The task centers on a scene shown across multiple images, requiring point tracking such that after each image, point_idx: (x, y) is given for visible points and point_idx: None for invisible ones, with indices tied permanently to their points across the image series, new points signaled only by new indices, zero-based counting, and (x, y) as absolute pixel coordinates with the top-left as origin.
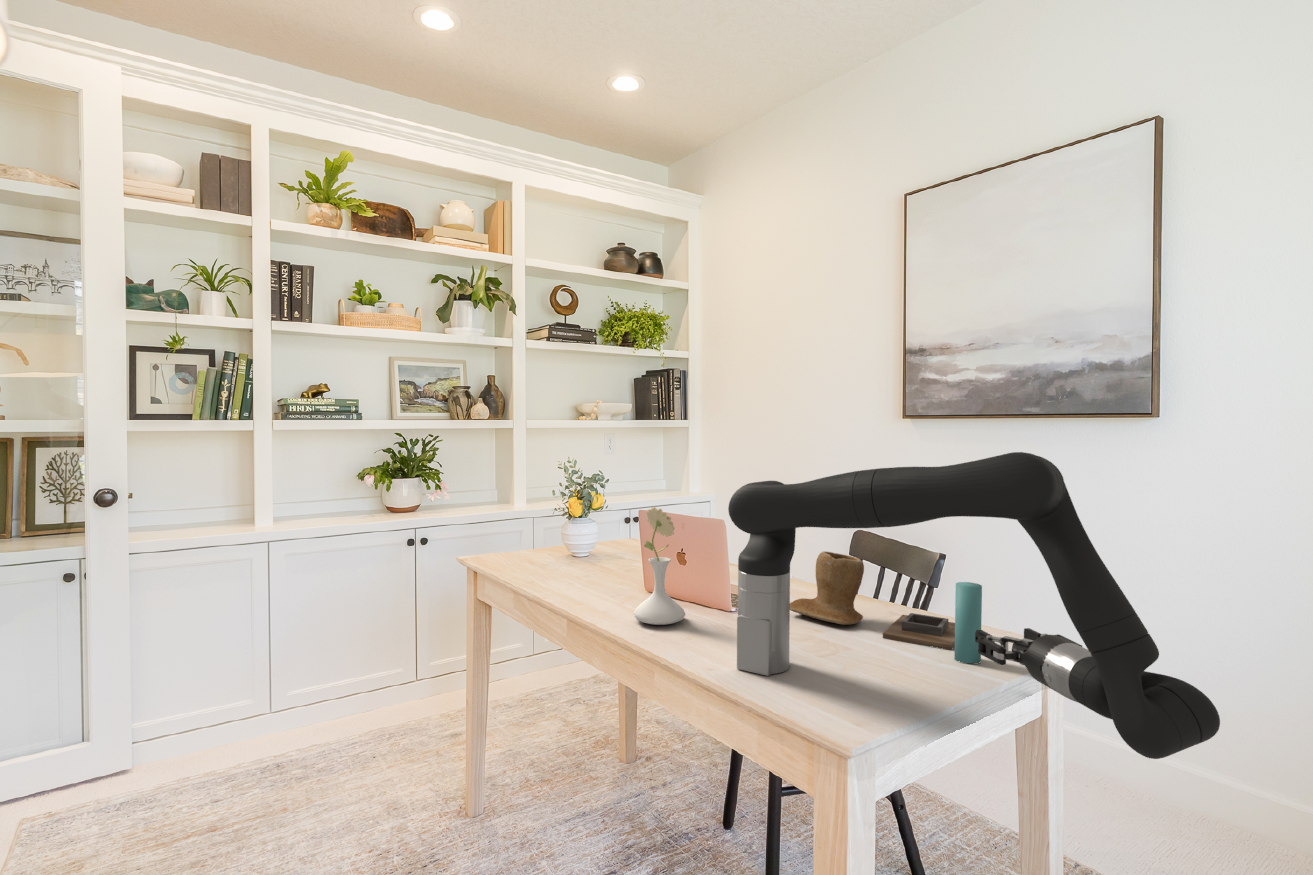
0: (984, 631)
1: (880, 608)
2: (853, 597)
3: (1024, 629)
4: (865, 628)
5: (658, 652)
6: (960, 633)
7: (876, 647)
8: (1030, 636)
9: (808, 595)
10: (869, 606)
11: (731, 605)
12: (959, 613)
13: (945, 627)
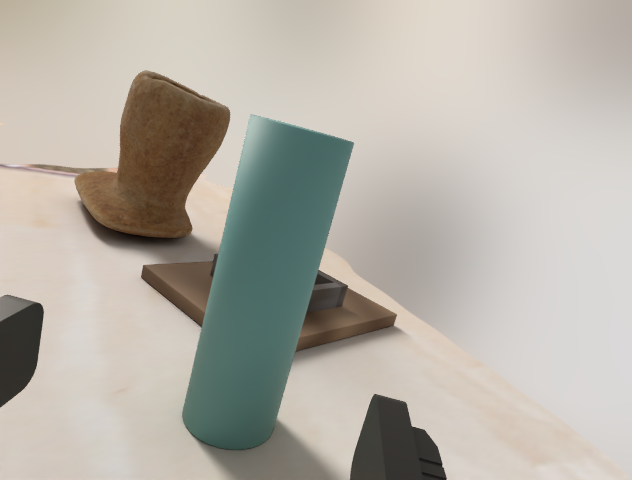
0: (4, 320)
1: None
2: (171, 181)
3: (371, 400)
4: (161, 253)
5: None
6: (206, 314)
7: (51, 288)
8: (367, 474)
9: (209, 199)
10: None
11: (34, 164)
12: (224, 235)
13: (319, 302)
